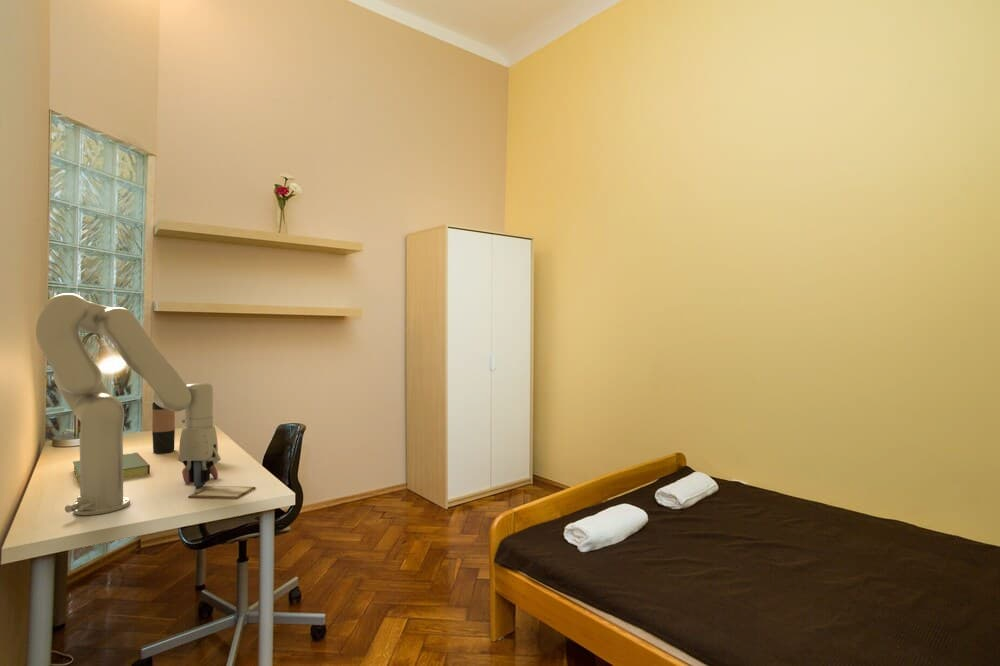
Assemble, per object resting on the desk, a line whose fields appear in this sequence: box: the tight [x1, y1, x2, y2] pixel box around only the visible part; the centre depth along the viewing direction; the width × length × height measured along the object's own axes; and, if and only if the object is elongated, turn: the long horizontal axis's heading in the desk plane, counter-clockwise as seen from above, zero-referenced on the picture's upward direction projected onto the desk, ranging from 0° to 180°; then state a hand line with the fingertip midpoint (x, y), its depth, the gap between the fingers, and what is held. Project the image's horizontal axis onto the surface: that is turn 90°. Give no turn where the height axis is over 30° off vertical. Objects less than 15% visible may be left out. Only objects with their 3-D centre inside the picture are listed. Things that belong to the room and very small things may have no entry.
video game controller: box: [181, 464, 219, 485], centre depth 172 cm, size 10×5×7 cm, turn 135°
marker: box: [193, 461, 206, 490], centre depth 163 cm, size 3×3×11 cm
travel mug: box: [151, 401, 176, 455], centre depth 211 cm, size 8×8×20 cm
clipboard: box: [187, 485, 256, 500], centre depth 158 cm, size 10×15×1 cm, turn 86°
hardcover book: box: [72, 452, 151, 483], centre depth 181 cm, size 25×19×4 cm
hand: (199, 481), depth 163 cm, fingers closed on marker, 3 cm apart
